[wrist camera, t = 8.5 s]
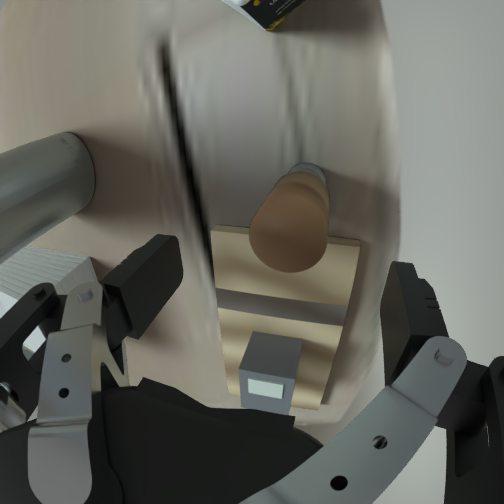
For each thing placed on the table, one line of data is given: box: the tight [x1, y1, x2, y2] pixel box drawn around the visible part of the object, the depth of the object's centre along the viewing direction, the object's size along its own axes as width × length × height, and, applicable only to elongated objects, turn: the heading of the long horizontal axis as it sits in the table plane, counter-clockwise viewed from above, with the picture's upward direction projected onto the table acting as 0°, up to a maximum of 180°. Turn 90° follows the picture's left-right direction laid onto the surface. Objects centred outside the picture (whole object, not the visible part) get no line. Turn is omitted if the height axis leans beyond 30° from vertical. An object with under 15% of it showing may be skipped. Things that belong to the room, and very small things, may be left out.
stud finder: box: [238, 331, 303, 415], centre depth 27 cm, size 7×5×5 cm
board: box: [210, 225, 360, 410], centre depth 29 cm, size 24×12×1 cm, turn 1°
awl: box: [249, 163, 330, 273], centre depth 17 cm, size 4×4×10 cm
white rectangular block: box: [0, 246, 99, 352], centre depth 34 cm, size 32×11×11 cm, turn 93°
